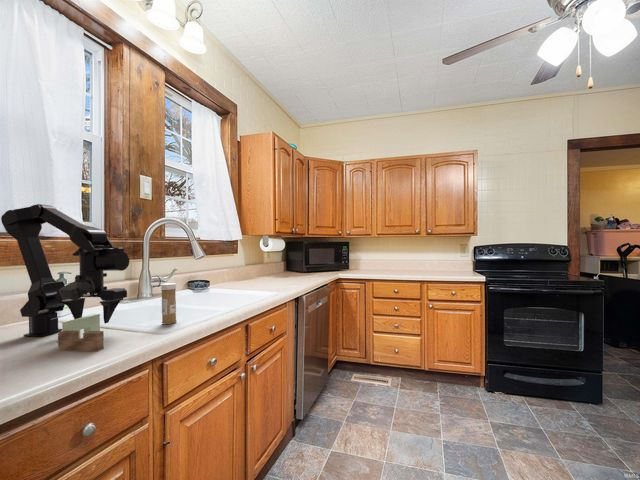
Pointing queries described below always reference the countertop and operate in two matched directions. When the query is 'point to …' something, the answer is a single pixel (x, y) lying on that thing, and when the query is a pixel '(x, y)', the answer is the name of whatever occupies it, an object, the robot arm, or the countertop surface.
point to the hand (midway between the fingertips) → (92, 322)
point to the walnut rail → (81, 341)
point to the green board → (83, 324)
